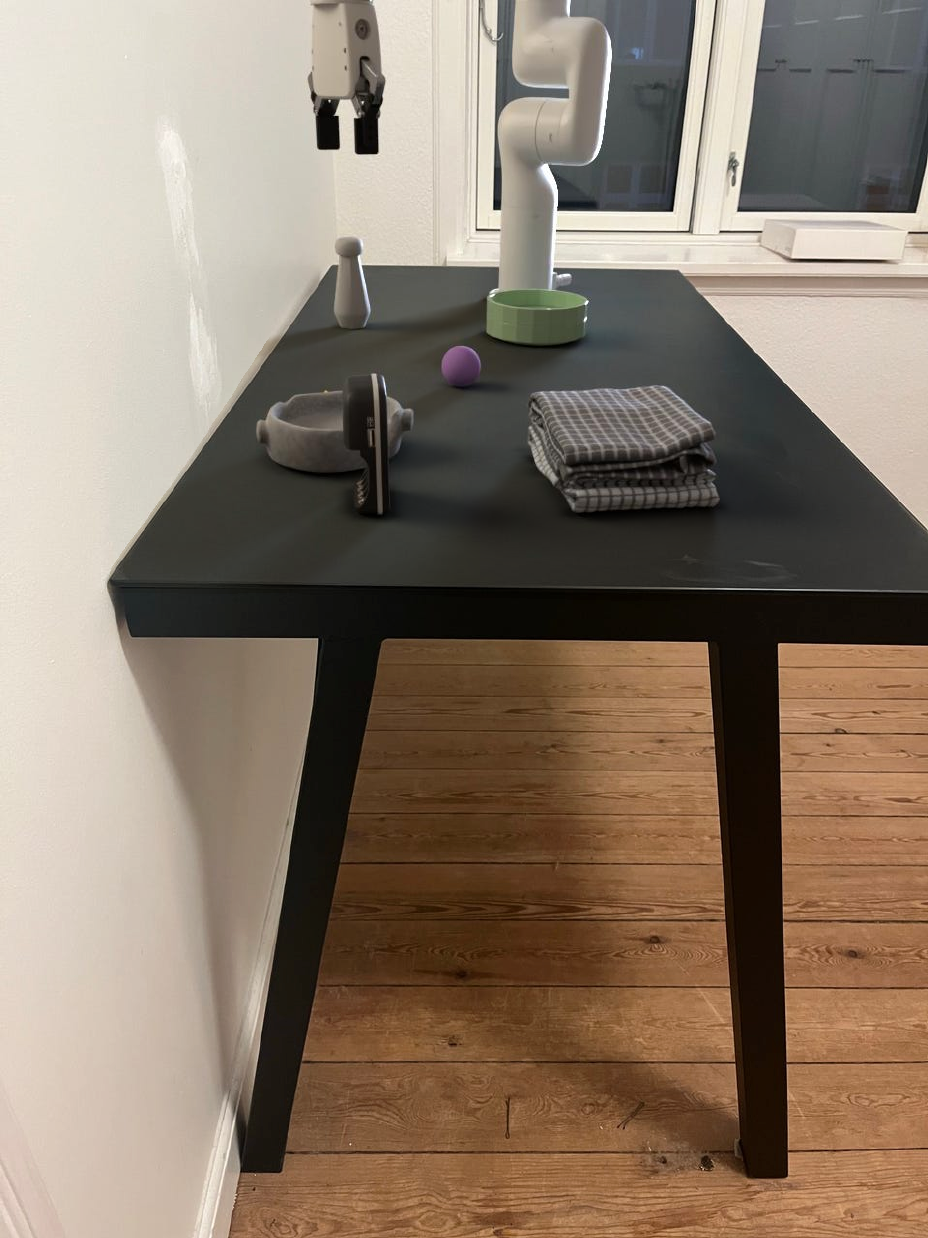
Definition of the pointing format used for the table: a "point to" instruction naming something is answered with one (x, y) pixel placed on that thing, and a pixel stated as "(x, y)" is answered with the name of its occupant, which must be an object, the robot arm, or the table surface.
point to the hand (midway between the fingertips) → (347, 151)
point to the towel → (623, 448)
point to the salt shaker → (350, 285)
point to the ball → (461, 366)
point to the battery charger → (368, 439)
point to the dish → (321, 433)
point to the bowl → (536, 316)
